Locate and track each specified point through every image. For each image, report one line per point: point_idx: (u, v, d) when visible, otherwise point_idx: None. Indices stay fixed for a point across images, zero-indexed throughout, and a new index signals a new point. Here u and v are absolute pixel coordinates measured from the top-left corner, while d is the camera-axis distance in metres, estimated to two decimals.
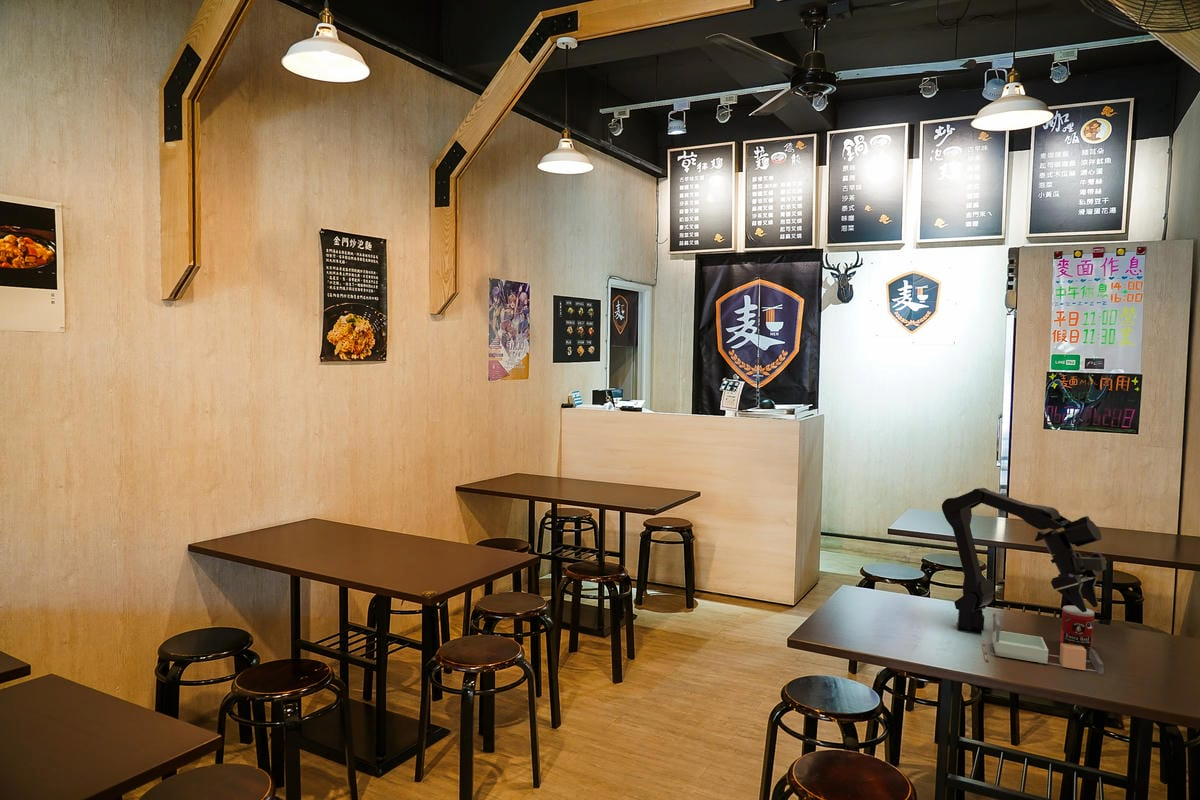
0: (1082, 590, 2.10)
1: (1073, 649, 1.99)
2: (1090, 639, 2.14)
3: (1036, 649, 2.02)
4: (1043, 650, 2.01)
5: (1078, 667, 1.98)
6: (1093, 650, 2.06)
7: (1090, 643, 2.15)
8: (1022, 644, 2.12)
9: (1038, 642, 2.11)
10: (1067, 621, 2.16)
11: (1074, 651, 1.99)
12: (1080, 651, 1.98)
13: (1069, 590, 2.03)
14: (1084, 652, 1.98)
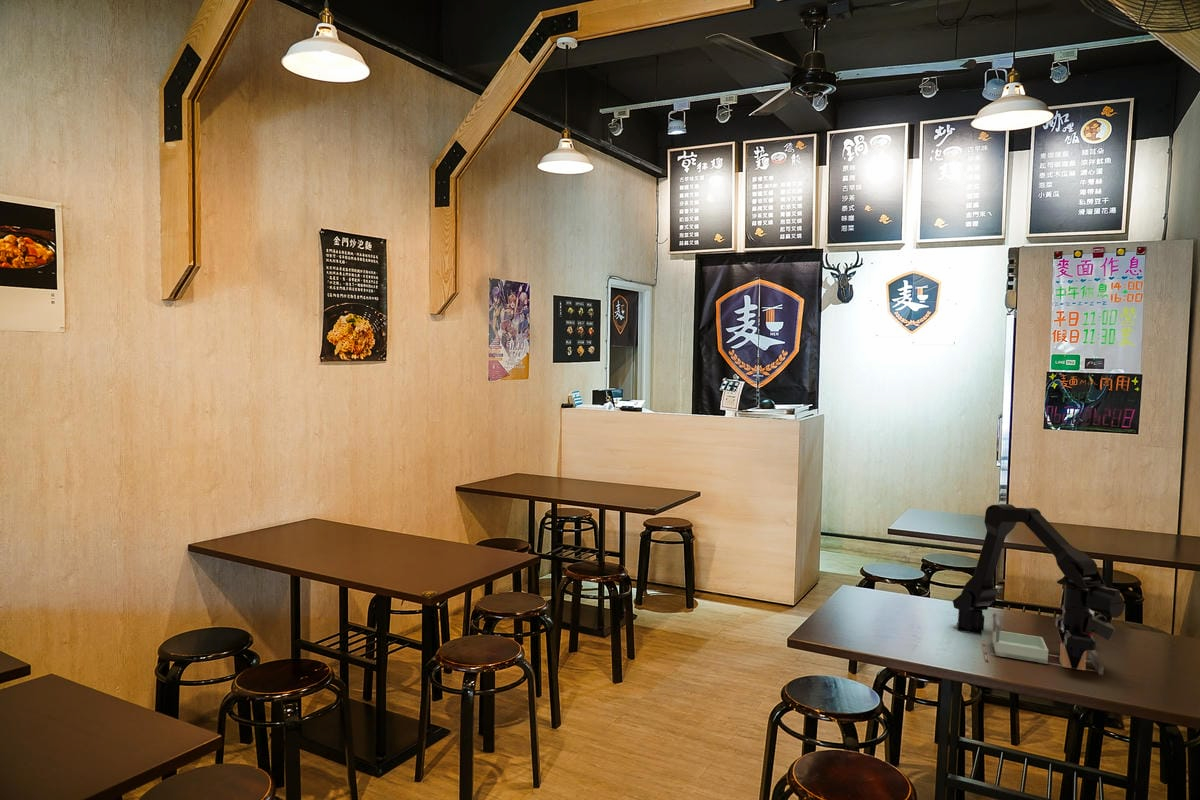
0: None
1: None
2: None
3: (1036, 649, 2.02)
4: (1043, 650, 2.01)
5: (1078, 667, 1.98)
6: (1093, 650, 2.06)
7: None
8: (1022, 644, 2.12)
9: (1038, 642, 2.11)
10: None
11: None
12: None
13: None
14: (1084, 652, 1.98)
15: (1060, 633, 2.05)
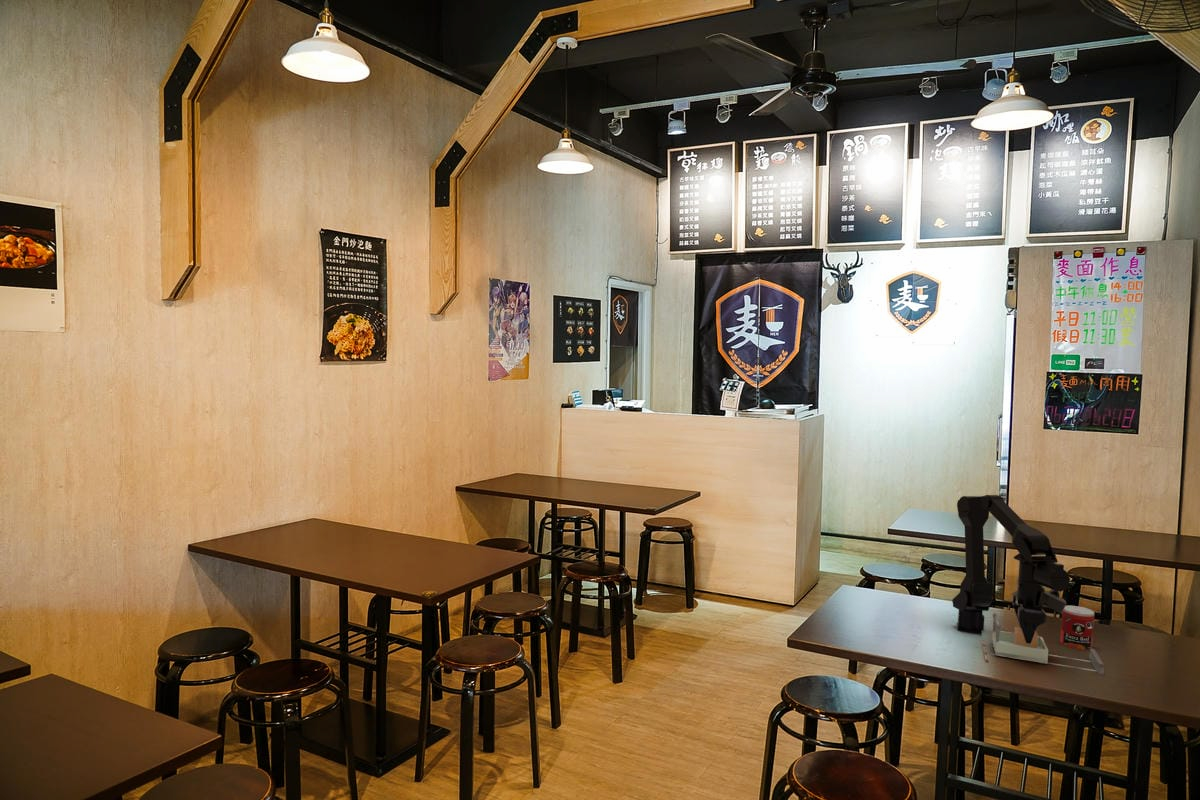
0: None
1: None
2: (1090, 639, 2.14)
3: (1036, 649, 2.02)
4: (1043, 650, 2.01)
5: None
6: (1093, 650, 2.06)
7: (1090, 643, 2.15)
8: None
9: (1038, 642, 2.11)
10: (1067, 621, 2.16)
11: None
12: None
13: (1027, 621, 2.02)
14: (1036, 637, 2.05)
15: (1014, 606, 2.13)
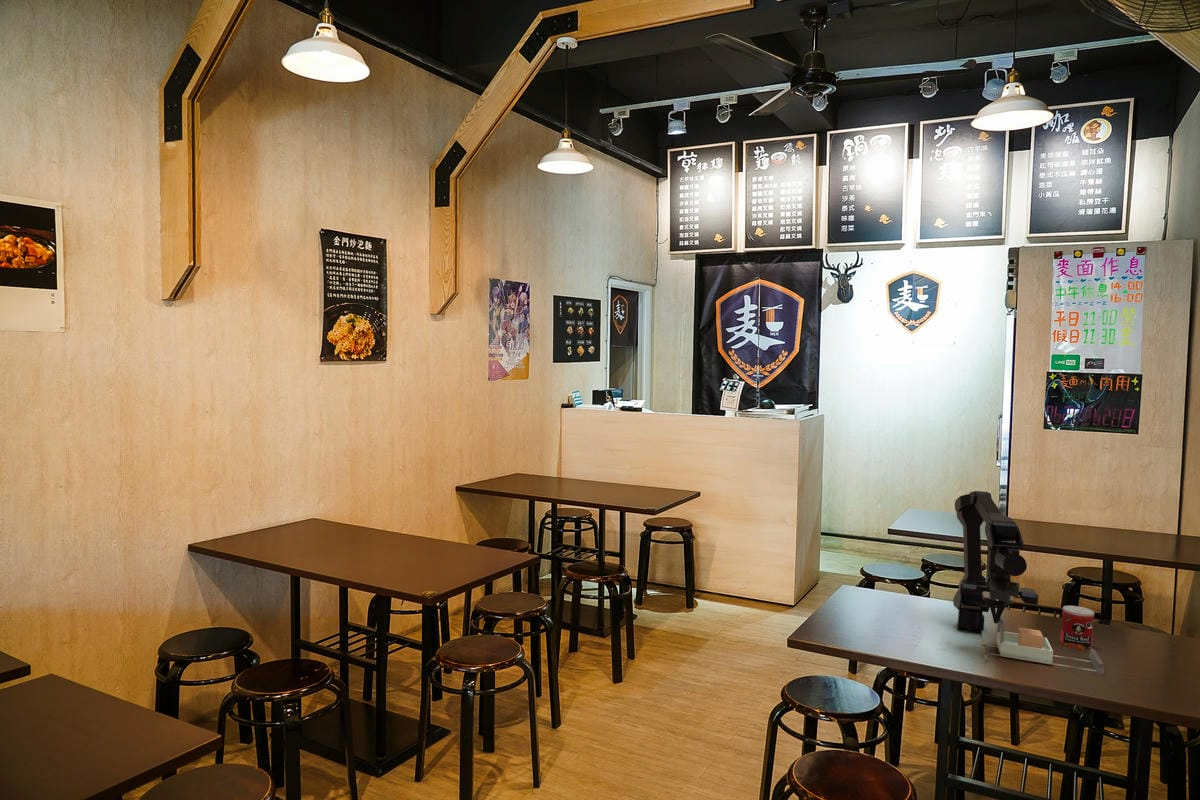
0: (998, 604, 2.11)
1: (1030, 635, 2.05)
2: (1090, 639, 2.14)
3: (1041, 650, 2.01)
4: (1048, 651, 2.01)
5: None
6: (1093, 650, 2.06)
7: (1090, 643, 2.15)
8: None
9: (1042, 643, 2.10)
10: (1067, 621, 2.16)
11: (1031, 637, 2.05)
12: (1036, 637, 2.05)
13: None
14: (1041, 638, 2.04)
15: None
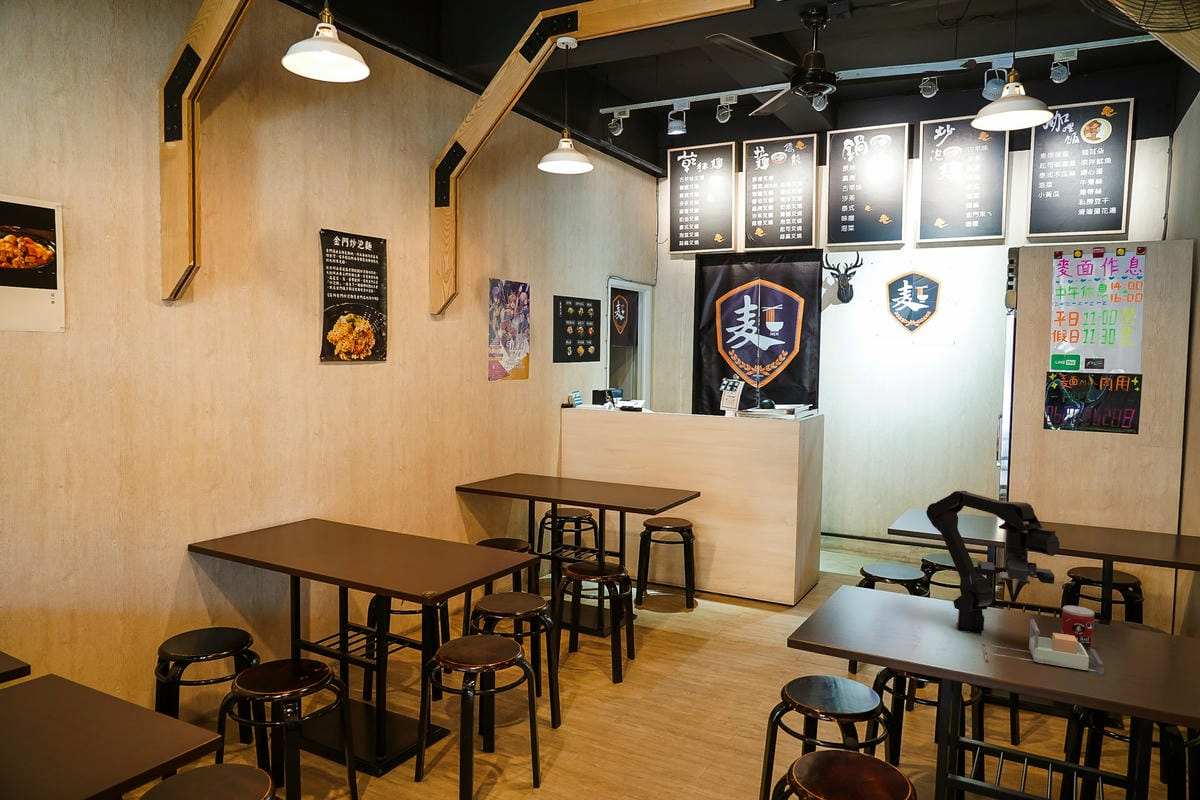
0: (1015, 584, 2.19)
1: (1065, 640, 2.02)
2: (1090, 639, 2.14)
3: (1076, 655, 1.98)
4: (1083, 656, 1.98)
5: None
6: (1093, 650, 2.06)
7: (1090, 643, 2.15)
8: None
9: None
10: (1067, 621, 2.16)
11: (1066, 642, 2.02)
12: (1071, 642, 2.02)
13: None
14: (1076, 643, 2.01)
15: None
